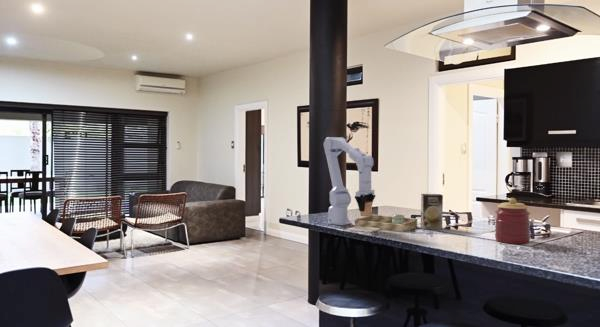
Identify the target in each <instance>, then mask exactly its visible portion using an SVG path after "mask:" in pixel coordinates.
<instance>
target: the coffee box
mask: <svg viewBox="0 0 600 327" xmlns="http://www.w3.org/2000/svg"><path fill="white" fill-rule="evenodd" d="M420 196H421V197H420V228H421V229H422V230H443V211H444V210H443V207H444V206H443V204H444V202H443V201H444V200H443V198H444V197H443V196H444V195H443V194H439V193H438V194H437V193H421V194H420Z"/></svg>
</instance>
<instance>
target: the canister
mask: <svg viewBox="0 0 600 327" xmlns="http://www.w3.org/2000/svg"><path fill="white" fill-rule="evenodd" d="M528 208H529V206H528V205H526V204H525V203H523V202H522V203H521V202H517V199H516V198H514V197H510V198H509V200H508V202H506V201H505V202H501V203H500V204H497V209H496V210H495V211H494V212H495V214H496V218H495V219H494V220H495V233H494V238H495V241H497V242H499V243H504V244H511V245H524V244H529V243H530V240H531V234H530V233H531V232H530V231H531V220H530V215H531V212H530V211H529V210H528Z"/></svg>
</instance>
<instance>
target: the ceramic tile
mask: <svg viewBox="0 0 600 327" xmlns="http://www.w3.org/2000/svg"><path fill="white" fill-rule="evenodd" d="M347 230H348V231H355V232H361V231H364V233H370V232H371V233H374V232H377V231H380V230H381V229H380V228H372V227H363V226H352V227H348V228H347ZM373 231H374V232H373Z"/></svg>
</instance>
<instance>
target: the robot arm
mask: <svg viewBox="0 0 600 327" xmlns="http://www.w3.org/2000/svg"><path fill="white" fill-rule="evenodd" d="M323 149H324V154H325V157H326V161H327V166H328V171H329V176H330V180H331V185H332V188H331V190H330V191H329V194H328V195H329V204H330V206H329V207H328V212H327V224H329V225H335V226H346V225H349V224H352V222H350V221H349V218H348V217H349V216H348V213H349V212H348V208H349V205H350V204H351V202H352V196H351V194H350V193H349V189H348V188H346V187H345V186H344V182H343V179H342V178H343V177H342V174H341V173H342V172H341V169H340V165H339V158H338V156H339V155H340V154H342V152H345V153H347V154H348V157H349V159H351V160H352V161H353V162H355V163H356V164H355V165H356V166H357V171H358V191H355V196H354V199H355V201H356V204H357V206H358V210H359V212H360V211H362V212H364V210H365V202H366V201H371V202H372V205H371V208H372V206H373V202H374V200H375V198H376V194H375V189H372V168H373V167H374V165H375V160H374V158H373V156H371V155H367V154H366V153H365V152H362V151H361V148H358V147H353V146H351V145H350V144H349V143H348V142H347V139H345V138H344V137H342V136H341V137H335V136H334V137H331V136H327V137H326V138H325V139H324V141H323Z"/></svg>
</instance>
